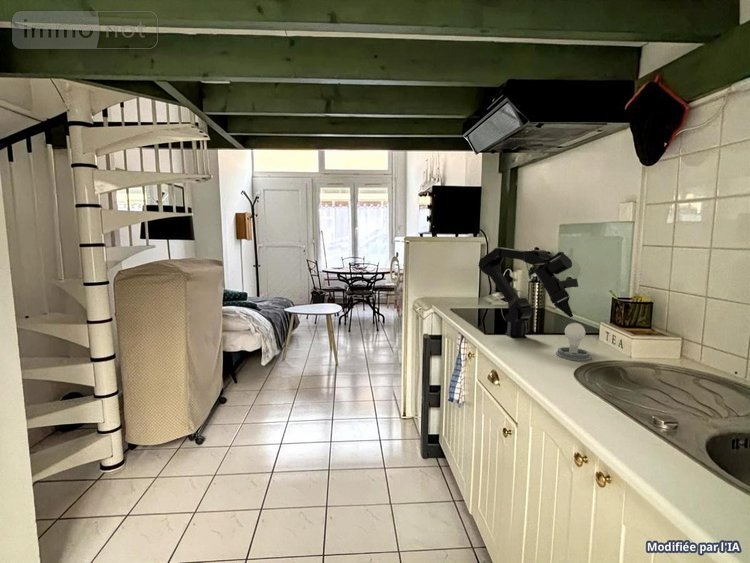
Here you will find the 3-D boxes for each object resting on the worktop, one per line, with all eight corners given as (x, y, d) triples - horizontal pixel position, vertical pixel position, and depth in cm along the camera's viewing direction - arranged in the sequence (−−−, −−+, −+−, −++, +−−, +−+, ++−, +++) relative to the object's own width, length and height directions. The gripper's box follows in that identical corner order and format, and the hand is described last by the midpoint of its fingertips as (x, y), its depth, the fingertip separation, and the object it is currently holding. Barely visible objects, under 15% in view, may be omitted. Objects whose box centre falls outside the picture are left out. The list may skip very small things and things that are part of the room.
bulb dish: (566, 361, 132) (567, 355, 132) (549, 351, 143) (550, 346, 143) (598, 361, 133) (598, 355, 133) (578, 351, 144) (579, 346, 144)
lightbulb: (587, 356, 135) (589, 325, 134) (568, 356, 135) (570, 324, 134) (577, 351, 142) (580, 321, 141) (560, 351, 142) (562, 320, 141)
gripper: (569, 268, 140) (595, 307, 137) (567, 269, 157) (590, 303, 154) (540, 283, 144) (564, 322, 141) (541, 283, 161) (562, 317, 158)
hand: (571, 315), depth 148 cm, fingers open, 9 cm apart
